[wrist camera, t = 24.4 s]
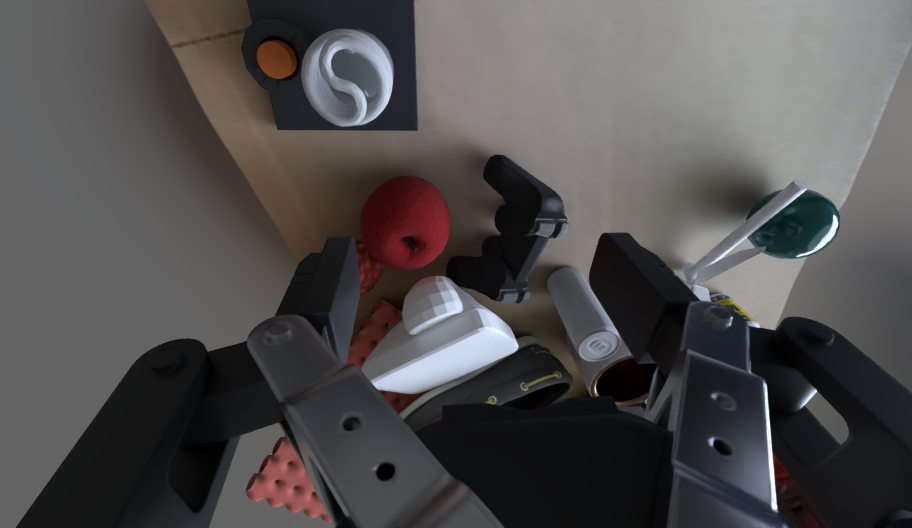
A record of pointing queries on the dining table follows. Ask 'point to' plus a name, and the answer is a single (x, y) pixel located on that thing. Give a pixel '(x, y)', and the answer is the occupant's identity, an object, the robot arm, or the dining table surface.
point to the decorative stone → (367, 268)
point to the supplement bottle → (732, 307)
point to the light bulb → (348, 76)
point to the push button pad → (304, 20)
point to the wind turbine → (710, 263)
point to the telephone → (437, 339)
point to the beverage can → (583, 315)
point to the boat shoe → (499, 385)
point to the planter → (616, 375)
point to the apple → (405, 223)
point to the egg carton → (277, 472)
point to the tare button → (276, 59)
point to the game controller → (512, 234)
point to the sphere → (797, 226)
